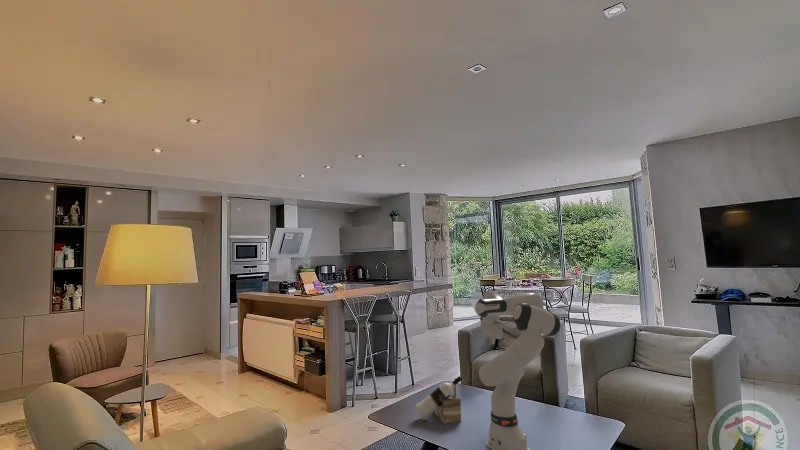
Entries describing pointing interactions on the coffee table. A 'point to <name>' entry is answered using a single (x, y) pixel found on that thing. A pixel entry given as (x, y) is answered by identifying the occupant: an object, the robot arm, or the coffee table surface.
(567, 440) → the coffee table surface
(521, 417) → the coffee table surface
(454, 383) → the vodka
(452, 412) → the cradle
